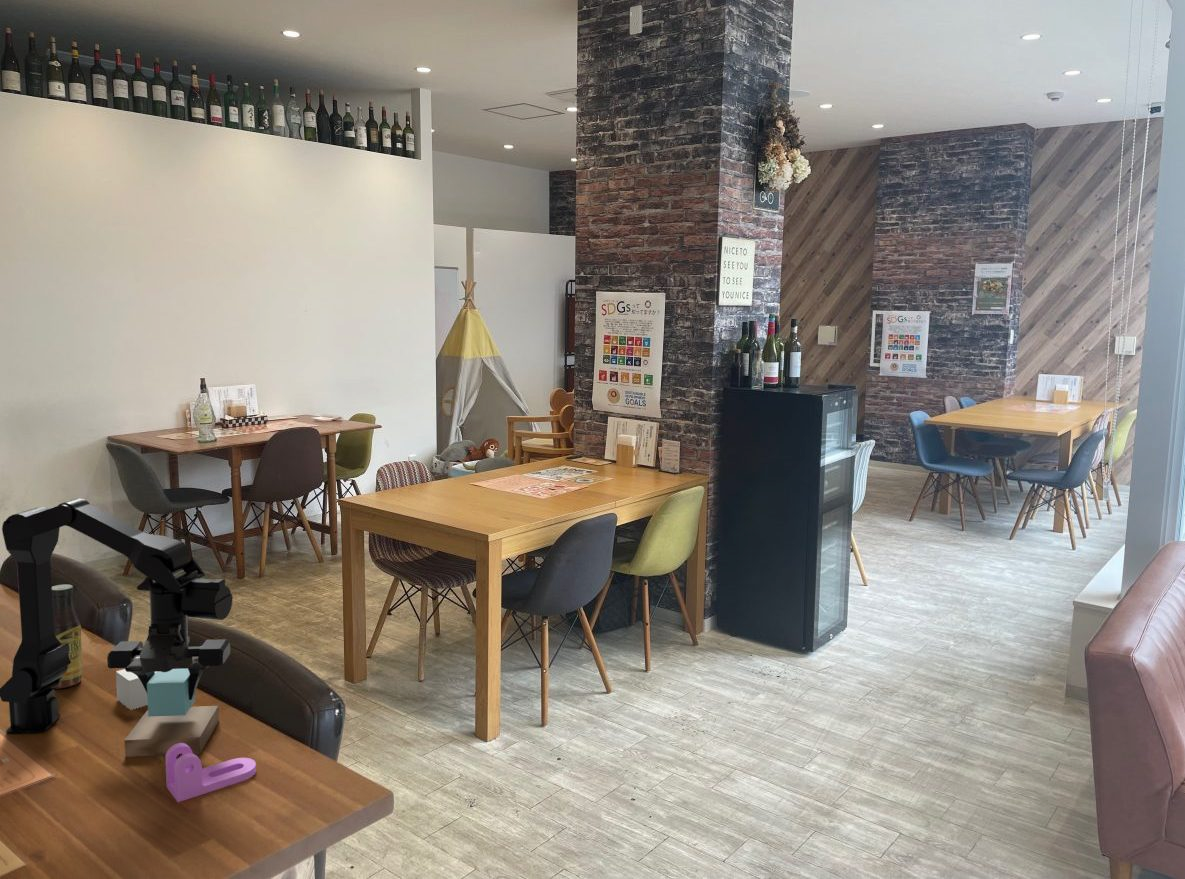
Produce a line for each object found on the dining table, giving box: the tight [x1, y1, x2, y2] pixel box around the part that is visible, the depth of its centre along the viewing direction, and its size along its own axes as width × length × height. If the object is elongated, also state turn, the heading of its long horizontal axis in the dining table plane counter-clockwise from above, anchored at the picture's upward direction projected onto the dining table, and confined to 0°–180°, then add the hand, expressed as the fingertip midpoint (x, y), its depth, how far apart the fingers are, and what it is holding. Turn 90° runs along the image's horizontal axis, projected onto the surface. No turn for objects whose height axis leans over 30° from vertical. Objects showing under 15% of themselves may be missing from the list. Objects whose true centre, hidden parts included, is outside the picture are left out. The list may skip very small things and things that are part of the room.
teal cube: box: [147, 668, 196, 717], centre depth 155 cm, size 6×6×6 cm
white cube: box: [115, 668, 156, 711], centre depth 170 cm, size 6×6×6 cm
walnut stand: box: [124, 705, 220, 758], centre depth 156 cm, size 12×12×3 cm
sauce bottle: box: [52, 584, 83, 689], centre depth 175 cm, size 6×6×20 cm
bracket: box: [164, 743, 257, 803], centre depth 143 cm, size 13×6×7 cm, turn 132°
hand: (172, 699), depth 155 cm, fingers closed on teal cube, 6 cm apart
